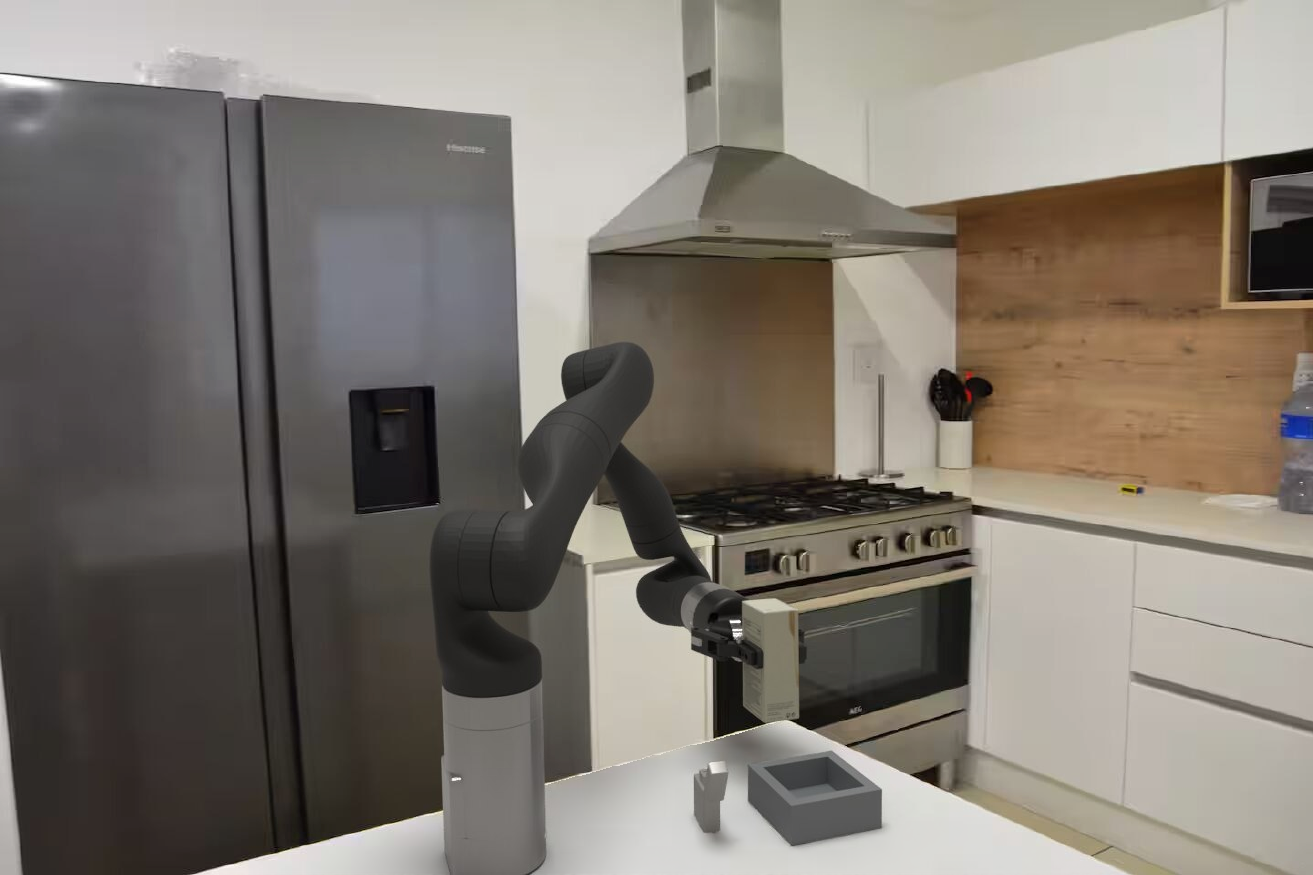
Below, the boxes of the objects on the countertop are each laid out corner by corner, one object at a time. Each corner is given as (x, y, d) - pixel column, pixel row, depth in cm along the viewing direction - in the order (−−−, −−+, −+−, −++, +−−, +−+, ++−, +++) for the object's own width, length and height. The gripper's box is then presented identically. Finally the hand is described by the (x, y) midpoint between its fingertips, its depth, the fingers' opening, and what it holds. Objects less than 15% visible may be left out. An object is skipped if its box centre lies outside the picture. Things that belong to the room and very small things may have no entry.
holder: (791, 845, 95) (791, 805, 94) (748, 800, 104) (747, 764, 104) (881, 827, 98) (881, 789, 98) (831, 785, 107) (831, 750, 107)
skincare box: (800, 720, 107) (801, 609, 106) (763, 725, 106) (764, 613, 105) (775, 700, 113) (776, 595, 112) (740, 704, 112) (741, 599, 111)
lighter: (693, 813, 102) (692, 738, 101) (709, 811, 102) (709, 737, 101) (711, 847, 95) (711, 767, 94) (729, 845, 95) (728, 765, 94)
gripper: (665, 592, 119) (720, 629, 103) (772, 583, 124) (840, 617, 108) (665, 653, 120) (720, 699, 104) (771, 641, 125) (839, 684, 109)
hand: (781, 657), depth 106 cm, fingers closed on skincare box, 4 cm apart
